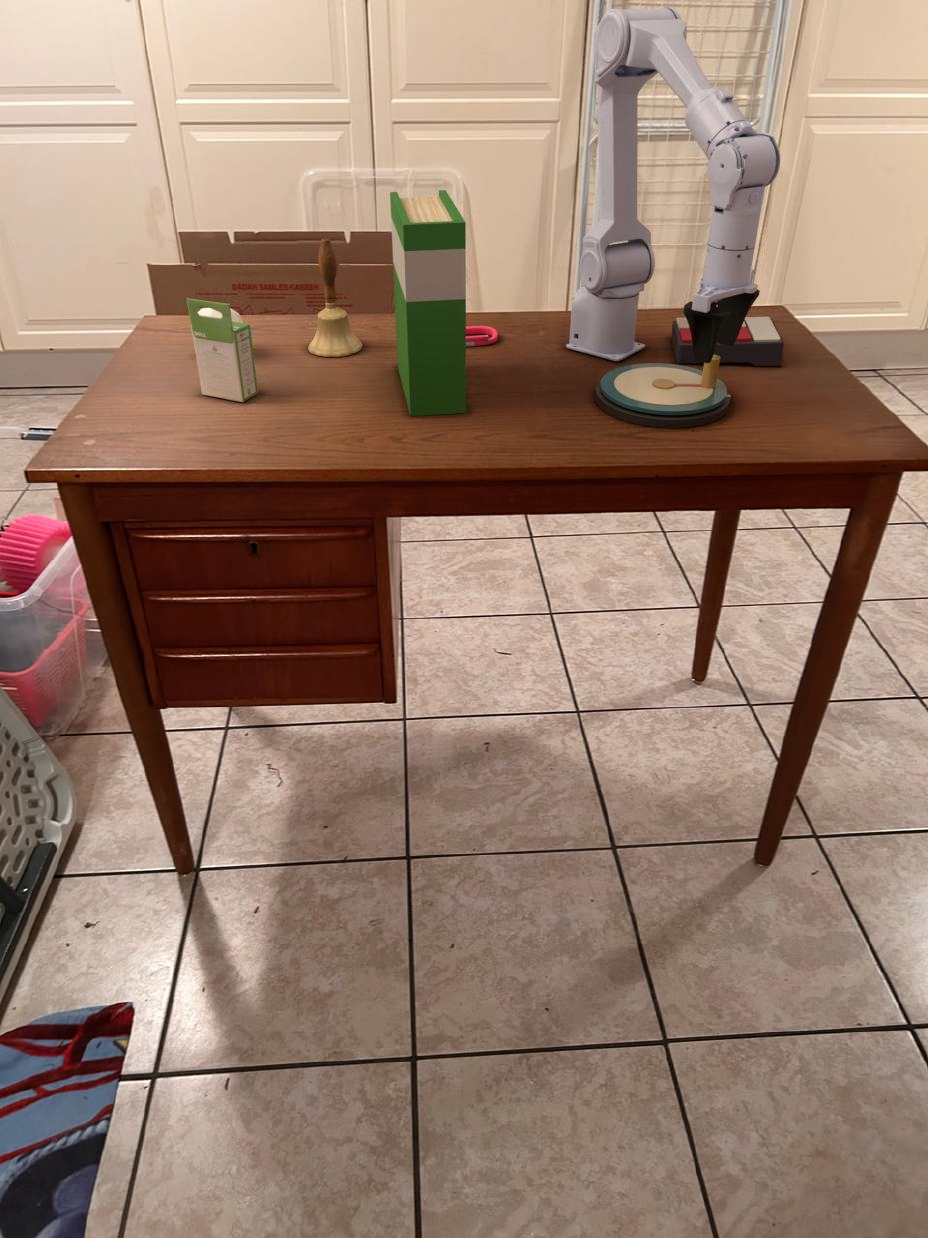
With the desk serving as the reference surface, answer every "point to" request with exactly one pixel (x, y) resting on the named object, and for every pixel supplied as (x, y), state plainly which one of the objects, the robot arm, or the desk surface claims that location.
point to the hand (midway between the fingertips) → (714, 352)
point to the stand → (660, 420)
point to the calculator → (751, 346)
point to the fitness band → (482, 338)
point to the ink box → (223, 353)
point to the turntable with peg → (665, 388)
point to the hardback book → (430, 302)
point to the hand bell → (332, 314)
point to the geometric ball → (214, 313)
